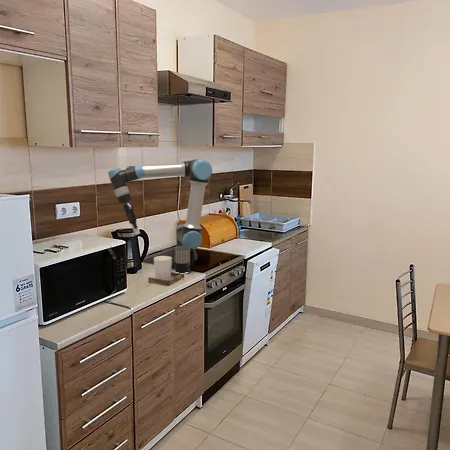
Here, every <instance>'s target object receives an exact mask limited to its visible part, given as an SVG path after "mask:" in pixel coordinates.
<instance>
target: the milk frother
mask: <svg viewBox="0 0 450 450" xmlns="http://www.w3.org/2000/svg"><path fill="white" fill-rule="evenodd" d="M174 254H175V261H174V262H173V261H172V266H171V270H173V269H174V272H175V271H176V272H179V273H185V272H190V273H192V272H191V266H194V263H195V261H194V250H193V249H192V248H191V247H189V246H177V247H176V246H174Z"/></svg>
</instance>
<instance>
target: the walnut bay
mask: <svg viewBox="0 0 450 450" xmlns="http://www.w3.org/2000/svg"><path fill="white" fill-rule="evenodd" d="M171 276H173V277H174V278H173V277H171V279H170V280H163V279H157V278H155V277H150V276H149V277H147V280H148V281H147V283H150V284H155V285H161V286H166V287H169V286H171V285H174V284H175V282H176V283H178V282H180V281H181V279H182V278H184V279H185V274H180V273H175V271H174V272H173V271H171ZM179 280H180V281H179ZM182 280H183V279H182ZM177 281H178V282H177Z"/></svg>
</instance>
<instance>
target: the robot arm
mask: <svg viewBox="0 0 450 450" xmlns="http://www.w3.org/2000/svg"><path fill="white" fill-rule="evenodd" d="M212 173H213V167H212V165H211V164H210V162H209V161H208V160H205V159H203V158H202V159H197V158H195V159H191V160H186V161H185V160H184V161H181V162H180V163H163V164H149V165H147V164H146V165H141V164H139V165H130V166H127V167H126V168H125V169H121V168H120V167H115V168H113V169H111V170H108V173H107V174H108V177H109V180H110V183H111V186H112V188H113V190H114V192H113V194H115V196H116V197H117V202H118V204H122V208H123V211H124V213H125V215H126V217H127V220H128V222H129V224H130V225H131V228H132V230H133V234H134V235H135V236H137V235H139V234H141V232H140V229H139V226H138V224H137V223H138V222H137V217H136V214H135V210H134V206H133V205H132V203H131V200H132V199H133V198H132V195H131V194H130V191H129V190H130V189H129V187H128V186H127V184H128V183H130V182H131V183H132V182H135V181H137V180H140V179H150V178H166V177H180V176H181V177H183V178H189V180H188V182H190V188H189V189H190V191H189V197H188V203H187V204H188V205H187V211H186V216H185V217H186V218H185V223H184V224H177V225H176V229H175V232H176V236H175V240H176V243H175V244H176V246H175V247H177V246H189V247H191V248H192V249H193V250H194V262H197V260H198V255H197V252H196V249H198V248H199V247H200V246H201V245H202V242H203V237H202V228H203V227H202V226H201V225H200V224H201V220H202V219H201V217H202V211H203V207H204V206H203V204H204V199H205V191H206V186H207V185H208V184H209V181H210V177H211V176H212ZM173 261H174V262H175V253H174V255H173Z"/></svg>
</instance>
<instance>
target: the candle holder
mask: <svg viewBox="0 0 450 450" xmlns="http://www.w3.org/2000/svg"><path fill="white" fill-rule="evenodd" d="M172 263H173V258H172V256H168V255H159V256H158V255H157V256H154V257H153V266H154V267H153V268H154V278H157V279H163V280H170V279H172V277H171V272H172V269H171V266H172Z"/></svg>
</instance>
